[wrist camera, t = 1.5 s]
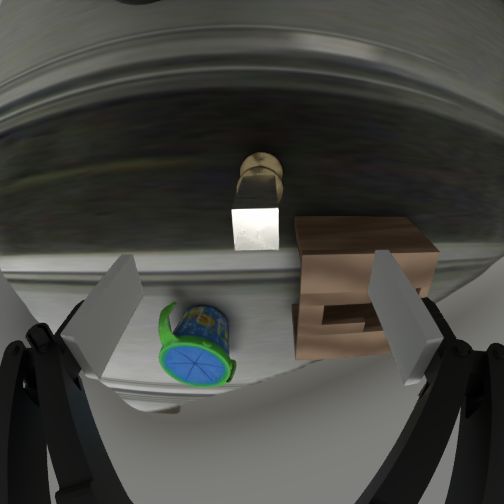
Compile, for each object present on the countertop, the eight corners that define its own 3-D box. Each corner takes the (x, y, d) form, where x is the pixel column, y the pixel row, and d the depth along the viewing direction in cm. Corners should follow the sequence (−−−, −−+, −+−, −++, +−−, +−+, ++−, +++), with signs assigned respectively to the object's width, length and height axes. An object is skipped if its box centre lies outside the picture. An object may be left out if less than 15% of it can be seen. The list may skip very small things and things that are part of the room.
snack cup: (154, 296, 44) (132, 340, 36) (207, 274, 42) (191, 321, 33) (205, 355, 51) (195, 400, 42) (255, 341, 48) (252, 389, 39)
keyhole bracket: (294, 216, 36) (302, 255, 28) (406, 217, 35) (440, 252, 27) (291, 311, 44) (295, 360, 35) (385, 306, 43) (405, 350, 34)
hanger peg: (239, 152, 33) (214, 195, 18) (281, 151, 32) (293, 193, 18) (242, 191, 35) (222, 262, 20) (282, 190, 35) (292, 261, 20)
